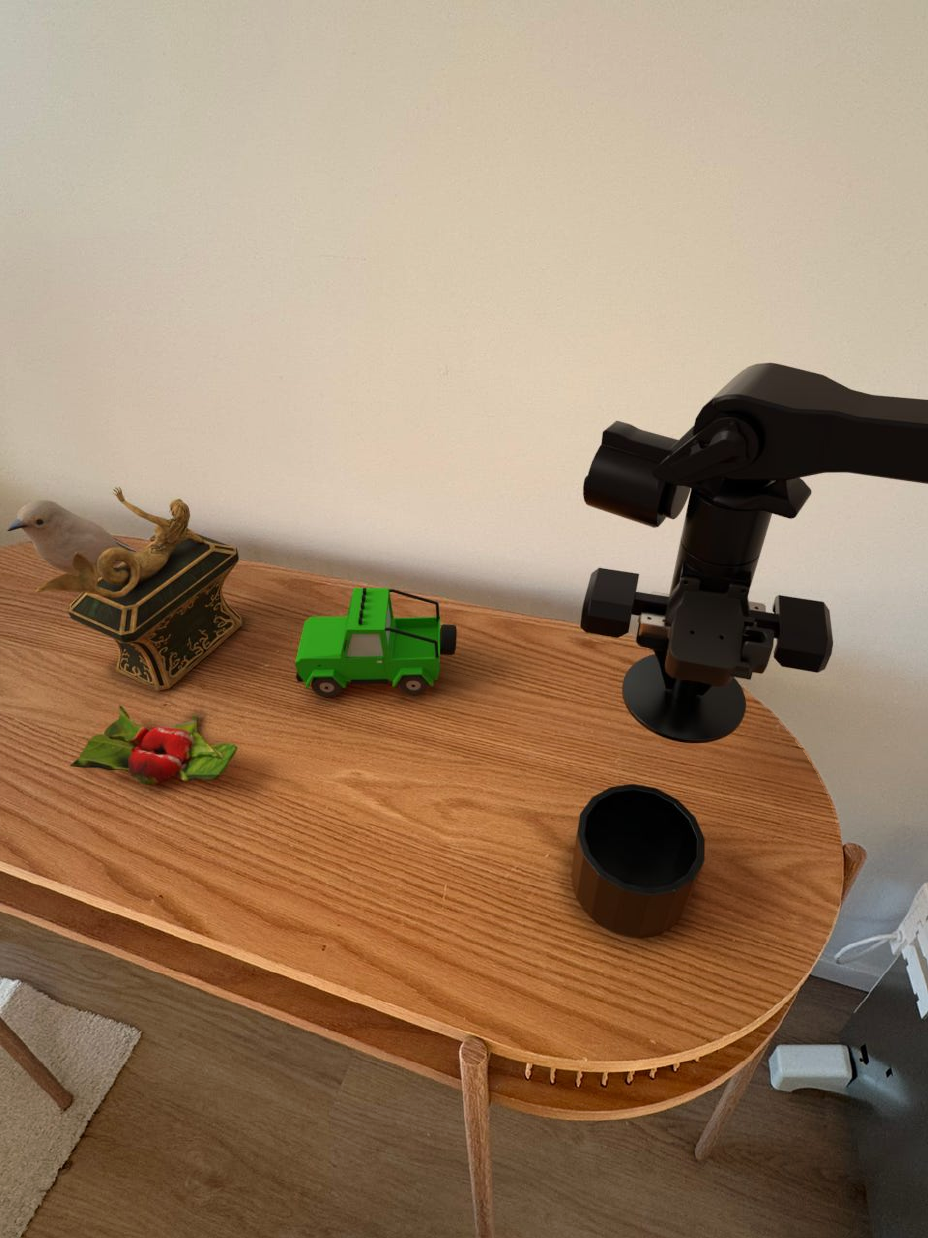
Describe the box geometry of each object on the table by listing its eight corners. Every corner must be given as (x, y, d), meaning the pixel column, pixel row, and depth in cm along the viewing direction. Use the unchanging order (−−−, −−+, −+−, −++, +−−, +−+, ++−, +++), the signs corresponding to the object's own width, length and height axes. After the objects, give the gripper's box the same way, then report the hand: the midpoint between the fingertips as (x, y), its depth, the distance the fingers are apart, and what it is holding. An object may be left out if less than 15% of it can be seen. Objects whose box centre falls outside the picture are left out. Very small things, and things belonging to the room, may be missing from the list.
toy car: (310, 647, 85) (295, 580, 78) (458, 644, 85) (455, 576, 78) (299, 701, 79) (281, 633, 72) (458, 697, 79) (455, 629, 72)
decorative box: (202, 593, 93) (155, 454, 80) (260, 616, 89) (221, 474, 76) (71, 696, 80) (-10, 550, 67) (133, 727, 76) (60, 580, 63)
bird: (43, 613, 91) (-12, 511, 81) (135, 559, 99) (95, 460, 89) (66, 628, 89) (13, 525, 79) (158, 571, 97) (120, 471, 87)
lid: (761, 690, 66) (776, 648, 62) (715, 768, 59) (729, 726, 56) (652, 644, 71) (661, 602, 67) (599, 712, 64) (605, 669, 61)
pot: (707, 869, 63) (724, 823, 58) (657, 962, 57) (671, 920, 52) (605, 812, 67) (614, 765, 63) (550, 893, 62) (554, 848, 57)
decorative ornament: (65, 764, 69) (123, 682, 76) (91, 790, 73) (144, 709, 79) (203, 787, 65) (251, 698, 72) (223, 813, 68) (267, 726, 75)
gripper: (575, 589, 50) (561, 736, 60) (870, 636, 46) (801, 786, 56) (600, 504, 58) (584, 646, 68) (853, 538, 54) (795, 684, 64)
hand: (684, 689), depth 64 cm, fingers closed on lid, 2 cm apart
